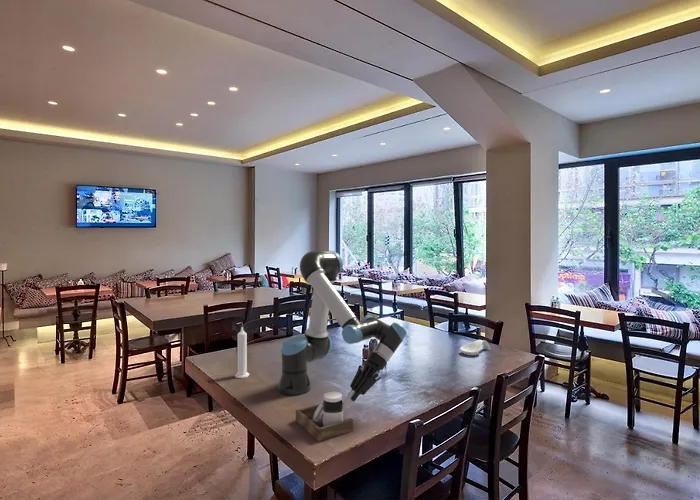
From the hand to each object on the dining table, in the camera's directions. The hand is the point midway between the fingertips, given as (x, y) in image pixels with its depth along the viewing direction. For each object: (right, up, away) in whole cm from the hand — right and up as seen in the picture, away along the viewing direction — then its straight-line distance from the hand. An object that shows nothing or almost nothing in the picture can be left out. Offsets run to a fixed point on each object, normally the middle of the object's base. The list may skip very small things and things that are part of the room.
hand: (345, 406), depth 153 cm
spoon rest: (+79, -3, +91) cm, 121 cm away
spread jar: (-7, -5, -4) cm, 9 cm away
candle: (-53, -4, +48) cm, 71 cm away
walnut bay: (-8, -5, -5) cm, 11 cm away
